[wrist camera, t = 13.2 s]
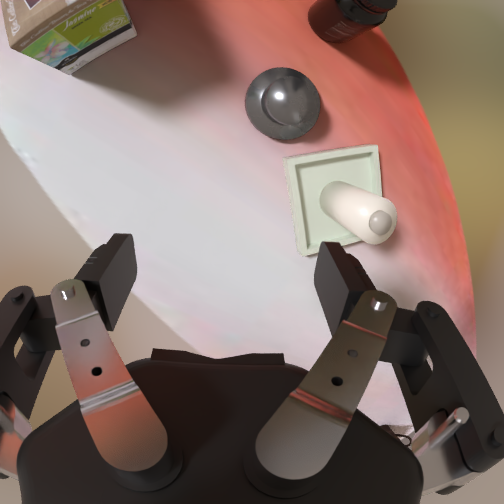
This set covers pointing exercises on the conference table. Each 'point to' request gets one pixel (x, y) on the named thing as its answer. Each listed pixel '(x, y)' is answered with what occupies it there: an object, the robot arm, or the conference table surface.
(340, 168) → the tray
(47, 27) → the tea box
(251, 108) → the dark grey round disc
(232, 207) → the conference table surface
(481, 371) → the robot arm
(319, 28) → the supplement bottle
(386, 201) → the white knobbed cylinder
